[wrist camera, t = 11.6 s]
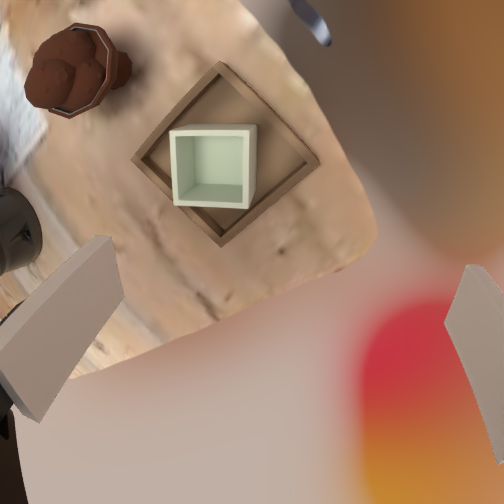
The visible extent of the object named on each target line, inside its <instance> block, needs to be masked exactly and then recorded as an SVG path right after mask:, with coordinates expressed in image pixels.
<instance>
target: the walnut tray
mask: <svg viewBox="0 0 504 504" xmlns="http://www.w3.org/2000/svg"><path fill="white" fill-rule="evenodd" d="M199 123H243V124H258V129H257V175H256V191H255V193H254V196H253V198H252V201H251V203H250V206H249V208H248V209H240V208H221V207H200V206H178V207H179V208H180V209H181V210H182V211H183V212H184V213H185V214H186V215H187V216H188V217H189V218H190V219H192V220H193V221H194V222H195V223H196V224H197V225H198V226H199V227H200V228H201V229H202V230H203V231H204V232H205V233H206V234H207V235H208V236H209V237H210V238H211V239H212V240H213V241H214V242H215V243H217V244H218V245H219V246H220V247H221V248H222V247H223V246H224V245H225V244H226V243H227V242H228V241H230V240H231V239H232V238H233V237H234V236H235V235H237V234H238V233H239V232H240V231H241V230H243V229H244V228H245V227H246V226H247V225H248V224H250V223H251V222H252V221H253V220H254V219H255V218H257V217H258V216H259V215H260V214H261V213H263V212H264V211H265V210H266V209H267V208H268V207H270V206H271V205H272V204H273V203H274V202H276V201H277V200H278V199H279V198H280V197H281V196H283V195H284V194H285V193H286V192H287V191H289V190H290V189H291V188H292V187H293V186H295V185H296V184H297V183H298V182H299V181H301V180H302V179H303V178H304V177H305V176H307V175H308V174H309V173H310V172H311V171H313V170H314V169H315V168H316V167H318V166H319V165H320V162H319V159H318V158H317V157H316V156H315V154H314V153H313V152H312V151H311V150H310V149H309V148H308V147H307V146H306V144H305V143H304V142H303V141H302V140H301V139H300V138H299V137H298V136H297V135H296V134H295V132H294V131H293V130H292V129H291V128H290V127H289V126H288V125H287V124H286V123H285V122H284V121H283V120H282V119H281V118H280V117H279V116H278V115H277V114H276V113H275V111H274V110H273V109H272V108H271V107H270V106H269V105H268V104H267V103H266V102H265V101H264V100H263V99H262V98H261V97H260V96H259V95H258V94H257V93H256V92H255V91H254V90H252V89H251V88H250V87H249V86H248V85H247V84H246V83H245V82H244V81H243V80H242V79H241V78H240V77H239V76H238V75H237V74H236V73H235V72H234V71H232V70H231V69H230V68H229V67H228V66H227V65H226V64H225V63H223V62H220V61H219V62H218V63H216V64H215V65H214V66H213V67H212V68H211V69H210V70H209V71H208V72H207V73H206V74H205V75H204V76H203V77H202V78H201V79H200V80H199V81H198V83H197V84H196V85H195V86H194V87H193V88H192V89H191V90H190V91H189V92H188V93H187V94H186V95H185V96H184V97H183V98H182V99H181V101H180V102H179V103H178V104H177V105H176V106H175V107H174V108H173V109H172V110H171V112H170V113H169V114H168V115H167V116H166V117H165V118H164V120H163V121H162V122H161V123H160V124H159V125H158V127H157V128H156V129H155V130H154V131H153V132H152V134H151V135H150V136H149V137H148V138H147V140H146V141H145V142H144V143H143V145H142V146H141V147H140V148H139V150H138V151H137V152H136V153H135V155H134V156H133V157H132V158H131V161H132V162H133V163H134V164H135V165H136V166H137V167H138V168H139V169H140V170H141V171H142V172H143V173H144V174H145V175H146V176H147V177H148V178H149V179H150V180H151V181H152V182H153V183H154V184H155V185H156V186H158V187H159V188H160V189H161V190H162V191H163V192H164V193H165V194H166V195H167V196H168V197H169V198H170V199H171V200H172V201H173V190H172V174H171V156H170V134H169V131H171V130H173V129H176V128H179V127H182V126H185V125H188V124H199Z"/></svg>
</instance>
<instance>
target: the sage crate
mask: <svg viewBox="0 0 504 504" xmlns="http://www.w3.org/2000/svg"><path fill="white" fill-rule="evenodd" d="M257 129H258V124H243V123H199V124H188V125H185V126H182V127H179V128H176V129H173V130H171V131H169V134H170V156H171V174H172V190H173V204H174V205H175V206H200V207H221V208H240V209H248V208H249V206H250V203H251V201H252V198H253V196H254V193H255V191H256V175H257Z"/></svg>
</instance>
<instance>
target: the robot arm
mask: <svg viewBox="0 0 504 504" xmlns="http://www.w3.org/2000/svg"><path fill="white" fill-rule="evenodd" d="M41 246H42V235H41V229H40V225H39V222H38V219H37V216H36V214H35V212H34V210H33V208H32V206H31V205H30V203H29V202H28V201H27V199H26V198H25V197H24V196H23V195H22V194H21V193H19V192H18V191H16V190H14V189H11V188H4V189H2V190H0V276H1V275H2V274H4V273H5V272H8V271H11V270H14V269H18V268H21V267H24V266H26V265H28V264H30V263H31V262H32V261H33V260H34V259H36V258H37V256H38V255H39V253H40V250H41ZM123 298H124V293H123V289H122V284H121V280H120V275H119V271H118V266H117V261H116V256H115V251H114V246H113V241H112V236H99V235H95V236H94V237H93V238H92V239H91V240H89V241H88V242H87V243H86V244H85V245H84V246H83V247H81V248H80V249H79V250H78V251H77V252H76V253H75V254H73V255H72V256H71V257H70V258H69V259H68V260H67V261H66V262H65V263H63V264H62V265H61V266H60V267H59V268H58V269H57V270H56V271H55V272H54V273H53V274H52V275H51V276H49V277H48V278H47V279H46V280H45V281H44V282H43V283H42V284H41V285H40V286H39V287H38V288H37V289H36V290H35V291H34V292H33V293H32V294H31V295H30V296H29V297H28V298H27V299H25V300H24V301H22V302H20V303H19V304H17V305H16V306H15V307H14V308H13V309H12V310H11V311H10V312H9V313H8V314H7V315H8V316H7V317H6V316H5V317H4V318H3V320H2V321H1V322H0V504H28V500H27V496H26V491H25V487H24V482H23V477H22V472H21V466H20V460H19V454H18V448H17V439H16V431H15V420H14V415H13V412H12V410H11V409H10V408H11V406H12V405H13V403H14V404H15V405H16V407H17V408H18V409H19V410H20V412H21V413H22V414H23V415H24V416H26V417H28V418H30V419H32V420H34V421H36V422H38V423H40V422H41V420H42V419H43V417H44V415H45V414H46V412H47V410H48V409H49V407H50V406H51V404H52V402H53V401H54V399H55V398H56V396H57V394H58V393H59V391H60V390H61V388H62V386H63V385H64V383H65V382H66V380H67V379H68V377H69V376H70V374H71V373H72V371H73V370H74V368H75V367H76V365H77V364H78V362H79V361H80V359H81V358H82V356H83V355H84V353H85V352H86V350H87V349H88V347H89V346H90V344H91V343H92V341H93V340H94V339H95V337H96V336H97V334H98V333H99V331H100V330H101V329H102V327H103V326H104V324H105V323H106V322H107V320H108V319H109V317H110V316H111V315H112V313H113V312H114V310H115V309H116V308H117V306H118V305H119V304H120V302H121V301H122V299H123ZM444 325H445V327H446V329H447V331H448V333H449V335H450V337H451V340H452V342H453V344H454V346H455V348H456V351H457V353H458V355H459V358H460V360H461V362H462V365H463V367H464V369H465V372H466V374H467V377H468V379H469V382H470V384H471V387H472V390H473V392H474V395H475V397H476V400H477V403H478V406H479V409H480V412H481V414H482V417H483V420H484V423H485V426H486V429H487V432H488V436H489V439H490V442H491V446H492V449H493V453H494V456H495V460H496V463H497V464H500V463H504V293H503V292H502V291H501V289H500V288H499V287H498V285H497V284H496V283H495V282H494V280H493V279H492V278H491V276H490V275H489V274H488V273H487V271H486V270H485V269H484V268H483V267H482V266H481V265H471V264H466V267H465V270H464V273H463V276H462V278H461V281H460V284H459V287H458V289H457V292H456V294H455V297H454V300H453V302H452V305H451V307H450V309H449V312H448V314H447V317H446V319H445V321H444Z"/></svg>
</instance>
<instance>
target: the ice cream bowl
mask: <svg viewBox="0 0 504 504" xmlns="http://www.w3.org/2000/svg"><path fill="white" fill-rule="evenodd" d="M131 67H132V62H131V60H130V59H129V57H128V56H127V54H126V53H123V52H119V51H117V50H116V48H115V46H114V45H113V43H112V42H111V40H110V38H109V37H108V35H107V33H106V32H105V30H104V29H102V28H100V27H99V26H94V25H88V24H81V23H74V24H72V25H71V26H69V27H68V28H66V29H64V30H63V31H60V32H58V33H57V34H54V35H52V36H51V38H49V39H48V40H46V41H45V42H43V43H42V44H41V46H40V47H39V49H38V51H37V52H36V53H35V55H34V58H33V67H32V68H31V70H30V72H29V74H28V76H27V79H26V82H25V84H24V88H25V94H26V98H27V99H28V101H29V102H30V103H31V104H32V105H33V106H34V107H38V108H44V109H48V111H49V112H51V113H54V114H57V115H60V116H63V117H65V118H68V119H71V118H73V117H75V116H77V115H79V114H81V113H83V112H85V111H87V110H89V109H91V108H94V107H95V106H97V105H99V104H100V103H101V102H102V100H103V99H104V97H105V96H106V94H107V92H108V91H109V89H111V90H114V89H117V88H119V87H121V86H124V84H125V83H126V81H127V80H128V78H129V77H130V76H131Z"/></svg>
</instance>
